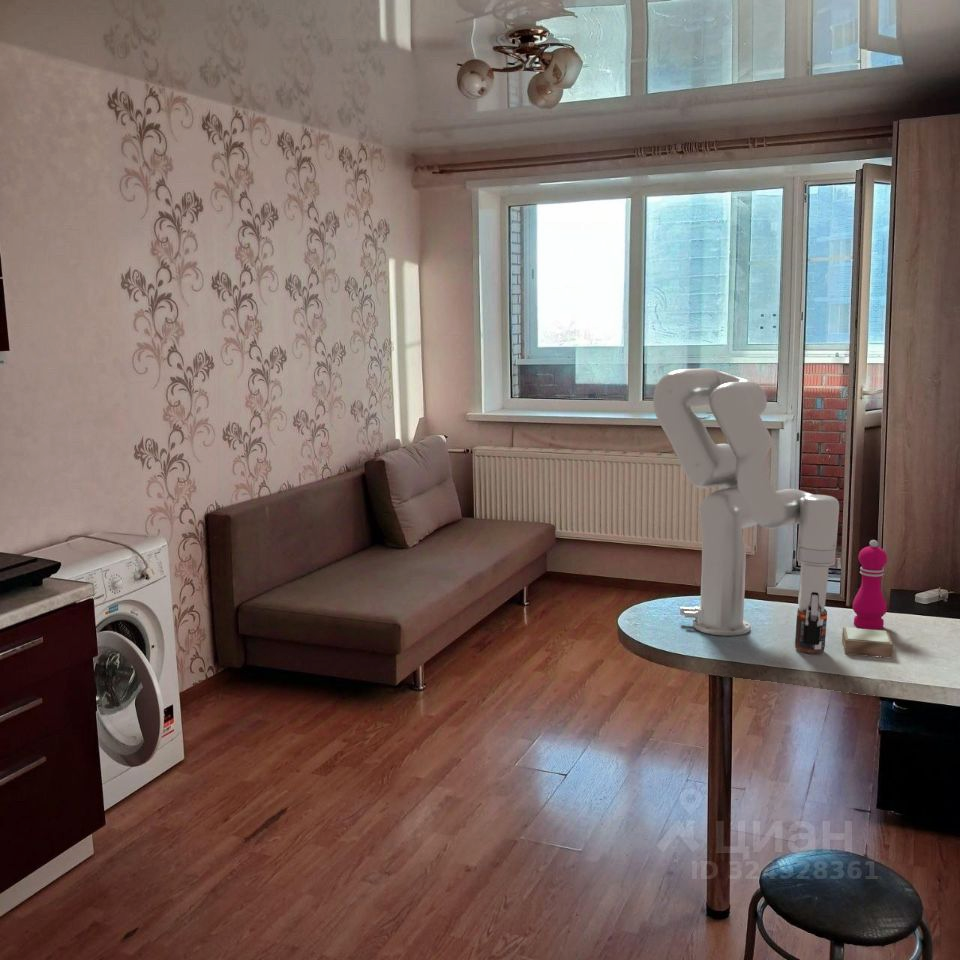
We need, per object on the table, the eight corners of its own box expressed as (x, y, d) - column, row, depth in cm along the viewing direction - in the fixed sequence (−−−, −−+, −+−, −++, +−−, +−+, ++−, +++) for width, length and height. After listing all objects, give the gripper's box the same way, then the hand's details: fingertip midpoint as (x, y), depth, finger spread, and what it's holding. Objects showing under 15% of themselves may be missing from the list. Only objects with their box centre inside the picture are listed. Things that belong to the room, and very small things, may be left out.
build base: (845, 654, 200) (845, 639, 200) (841, 640, 209) (842, 626, 208) (891, 658, 198) (892, 643, 197) (886, 644, 206) (887, 630, 206)
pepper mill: (888, 631, 215) (894, 544, 212) (854, 629, 217) (859, 542, 213) (882, 622, 222) (887, 537, 219) (848, 620, 224) (854, 535, 220)
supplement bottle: (826, 655, 199) (830, 602, 197) (796, 653, 200) (800, 601, 198) (821, 646, 205) (825, 594, 203) (792, 644, 206) (796, 593, 204)
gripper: (796, 544, 208) (790, 624, 211) (798, 563, 192) (792, 650, 195) (833, 547, 206) (827, 628, 209) (838, 566, 190) (831, 654, 193)
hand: (810, 637), depth 202 cm, fingers closed on supplement bottle, 6 cm apart
